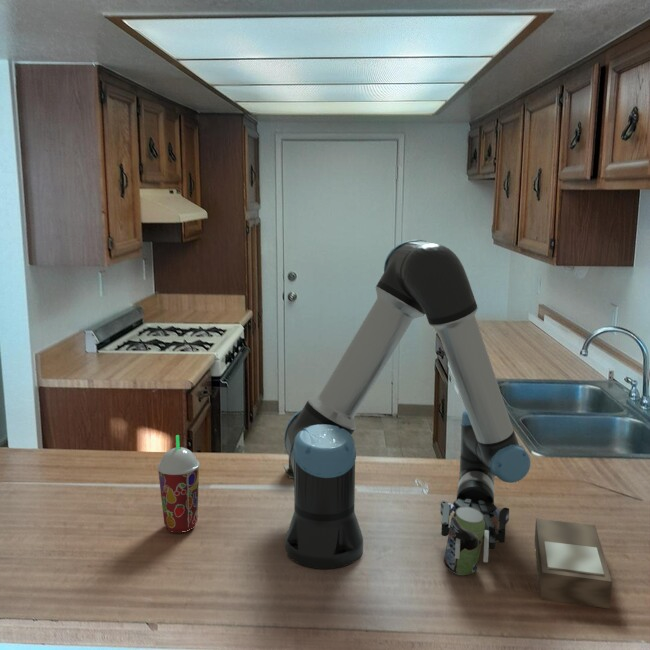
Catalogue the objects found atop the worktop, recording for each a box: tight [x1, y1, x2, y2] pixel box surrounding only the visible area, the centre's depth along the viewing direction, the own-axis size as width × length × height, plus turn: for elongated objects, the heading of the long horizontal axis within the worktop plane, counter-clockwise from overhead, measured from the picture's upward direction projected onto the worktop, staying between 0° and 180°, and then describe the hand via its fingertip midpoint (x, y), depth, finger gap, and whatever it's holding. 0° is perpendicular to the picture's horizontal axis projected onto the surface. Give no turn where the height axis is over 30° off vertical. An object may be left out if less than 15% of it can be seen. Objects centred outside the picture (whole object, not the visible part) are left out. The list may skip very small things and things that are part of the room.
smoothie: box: [157, 434, 200, 533], centre depth 138 cm, size 8×8×20 cm
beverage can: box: [443, 506, 485, 576], centre depth 122 cm, size 6×7×12 cm
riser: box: [534, 518, 613, 609], centre depth 122 cm, size 11×20×5 cm, turn 166°
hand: (471, 553), depth 117 cm, fingers closed on beverage can, 4 cm apart
